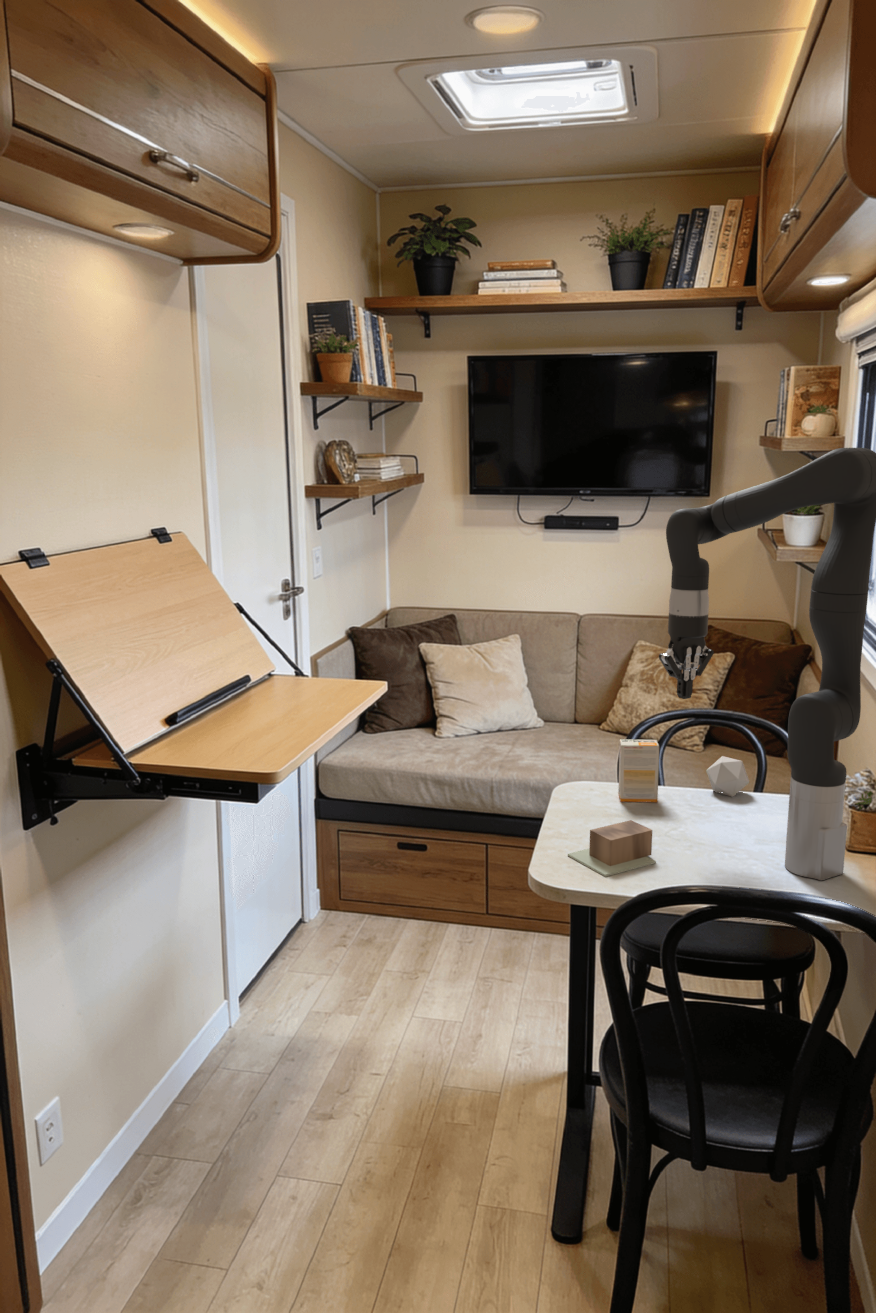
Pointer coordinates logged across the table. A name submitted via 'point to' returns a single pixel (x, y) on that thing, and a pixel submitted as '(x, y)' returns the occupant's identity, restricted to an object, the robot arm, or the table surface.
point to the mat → (606, 869)
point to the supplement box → (638, 770)
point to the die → (727, 776)
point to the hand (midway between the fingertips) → (684, 697)
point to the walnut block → (620, 842)
